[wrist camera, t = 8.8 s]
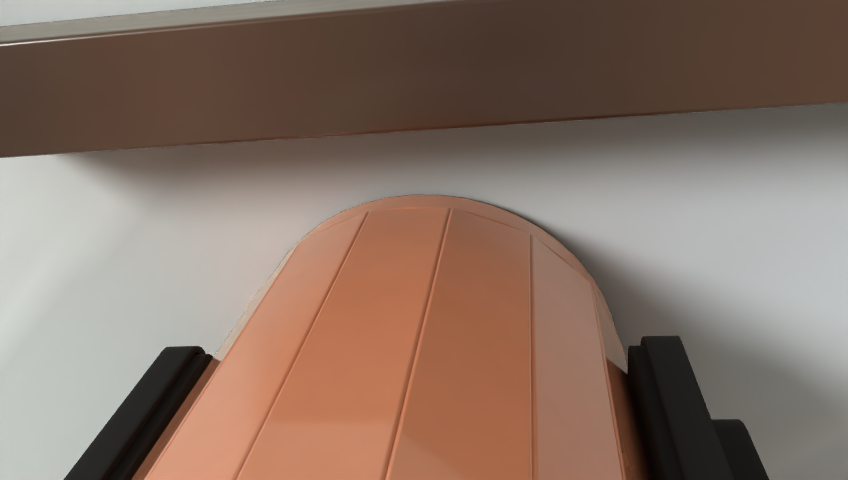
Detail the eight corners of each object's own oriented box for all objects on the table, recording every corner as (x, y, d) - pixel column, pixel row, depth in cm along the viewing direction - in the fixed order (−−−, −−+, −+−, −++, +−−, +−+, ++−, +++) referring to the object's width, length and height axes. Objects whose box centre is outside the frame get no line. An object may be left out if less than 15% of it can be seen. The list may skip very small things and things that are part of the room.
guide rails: (170, 587, 17) (131, 669, 15) (-38, 29, 11) (-140, 54, 10) (884, 609, 15) (935, 708, 13) (1070, -75, 9) (1208, -69, 7)
